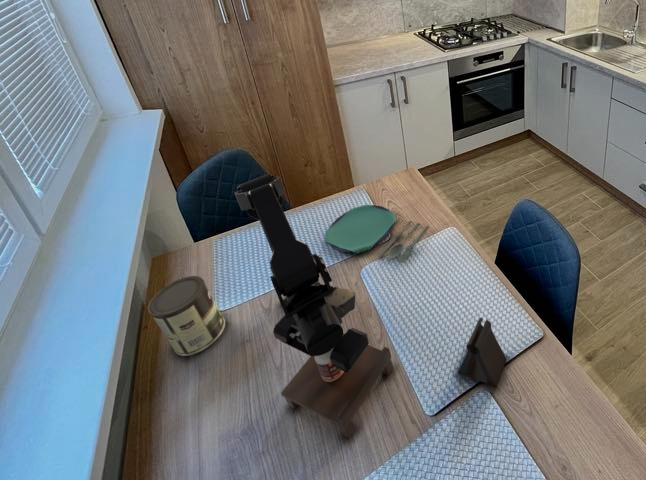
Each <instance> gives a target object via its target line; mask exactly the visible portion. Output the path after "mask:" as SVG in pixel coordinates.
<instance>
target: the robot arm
mask: <svg viewBox="0 0 646 480" xmlns="http://www.w3.org/2000/svg"><path fill="white" fill-rule="evenodd" d="M236 189H237V190H236V191H234V196H235V198H236V201H237V203H238V205H239V208H240V210H241V211H246V213H247V216H248V217H250V218H253V219H255V220H257V221H259V224H260V226H261V228H262V230H263V234H264V236H265V238H266V240H267V244H268V245H269V248H270V251H271V257H270V259H269V264H270V266H269V268H270V271H271V274H272V275H270V276H269V278H270V281H271V283H272V287H273V288H274V291H275V293H276V296H277V298H278V301H279V303H280V306H281V308H282V310H283V313H284V315H283V316H282V317H281V319H280V320H278V321H277V323H276V324H274V328H273V331H272V333H273V335H274V337H275V339H276V340H279V341H281V343H283V344H285V345H287V346H289V347H291V348H294V349H296V350H298V351H299V352H302V353H304V354H306V355H307V356H309V357H311V356H320V355H323V354H325V353H327V352H329V351H331V350H332V349H333V350H332V352H331V355H330V361H331V362H332V366H334V367H336V368H338V369H340V370H342V371H344V372H346V373H348V371H349V370H350V369H351V368H352V366H353V365H354V363H355V362H356V361H357V359H358V358H359V356H360V355H361V354H362V352H363V351H364V350H365V348H366V347H367V345H369V344H370V340H369V337H368V333H366V332H364V331H361V330H359V329H356V328H354V327H351V328H348V329H347V331H346V332H345V333H344V329H343V327H342V324H343V319H342V318H344V317H345V316H346V315H348V314H349V313H350V312H351V311H354V310H355V309H356V296H357V295H356V292H355V291H353V290H350V289H348V288H345V287H339V286H333V285H331V284H330V283H331V282H332V281H333V279H332V277H331V275H330V273H329V270H328V268H327V266H326V263H325V262H324V259H323V257H322V256H319V255H318V253H316V252H315V253H312V251H311V249H310V247H309V245H308V244H307V243H306V242H303V241H301V240H299V239H297V237H296V235H295V233H294V231H293V229H292V226H291V225H290V222H289V220H288V218H287V216H286V213H285V212H284V209H283V207H282V206H283V204H284V201H285V200H284V197H283V195H284V194H286V190H285V187H284V184H283V182H282V179H281V177H280V176H279V175H276V176H274V174H273V173H266V174H264V175H261V176H259V177H256V178H253V179H251V180H248V181H246V182H243V183H241V184H238V186H237V188H236ZM320 277H321V279H322V281H323V283H324V284H323V283H322V284H321V282H319V281H320ZM283 297H285V298H283Z"/></svg>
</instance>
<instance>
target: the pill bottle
mask: <svg viewBox="0 0 646 480" xmlns="http://www.w3.org/2000/svg"><path fill="white" fill-rule="evenodd" d="M332 350H333V349H332ZM332 350H331V351H329V352H327V353H325V354H323V355H320V356H315V362H316V364H317V366H318V369H319V372H320V374H321V377H322V379H323V380H324V381H327V382H332V381H335V380H336V379H338V378H339V377H340V376H341V375H342V374H343V372H344V371H342V370H340V369H338V368H336V367H334V366H332V362H331V361H330V355H331V352H332Z"/></svg>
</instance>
